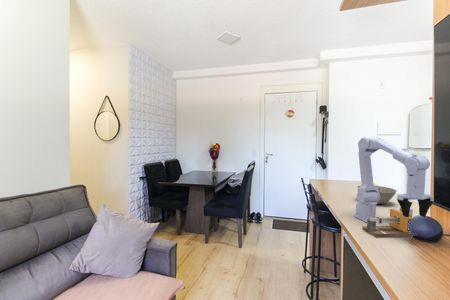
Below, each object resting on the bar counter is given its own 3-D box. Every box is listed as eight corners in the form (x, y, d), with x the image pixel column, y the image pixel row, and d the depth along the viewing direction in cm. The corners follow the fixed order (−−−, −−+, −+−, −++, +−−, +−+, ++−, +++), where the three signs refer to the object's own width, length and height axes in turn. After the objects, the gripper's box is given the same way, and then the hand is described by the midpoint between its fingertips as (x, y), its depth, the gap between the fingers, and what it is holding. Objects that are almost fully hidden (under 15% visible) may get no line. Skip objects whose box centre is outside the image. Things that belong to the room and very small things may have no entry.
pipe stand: (362, 229, 106) (362, 214, 106) (401, 228, 108) (402, 214, 108) (376, 237, 98) (377, 221, 97) (419, 236, 99) (419, 220, 99)
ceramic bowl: (382, 198, 163) (383, 185, 163) (404, 208, 140) (405, 192, 140) (350, 197, 165) (351, 184, 165) (367, 207, 143) (367, 191, 142)
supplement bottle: (399, 217, 123) (400, 200, 123) (412, 220, 120) (412, 202, 119) (399, 220, 119) (399, 202, 119) (412, 223, 116) (413, 204, 115)
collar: (389, 225, 107) (390, 208, 107) (392, 225, 107) (393, 208, 107) (403, 232, 99) (404, 214, 99) (407, 231, 99) (408, 214, 99)
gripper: (408, 187, 91) (406, 219, 92) (441, 186, 92) (439, 219, 92) (393, 183, 98) (392, 213, 99) (424, 183, 99) (423, 213, 99)
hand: (414, 216), depth 96 cm, fingers open, 7 cm apart
